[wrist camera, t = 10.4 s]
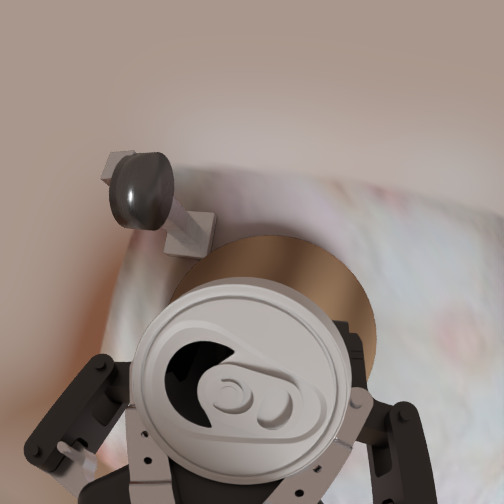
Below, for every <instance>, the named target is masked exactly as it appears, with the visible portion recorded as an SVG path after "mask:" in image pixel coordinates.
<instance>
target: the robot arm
mask: <svg viewBox="0 0 504 504" xmlns="http://www.w3.org/2000/svg"><path fill="white" fill-rule="evenodd" d="M332 322H333V323H334V325H335V326H336V328H337V329H338V331H339V333H340V335H341V337H342V339H343V341H344V343H345V346H346V348H347V352H348V355H349V360H350V365H351V374H352V381H351V393H350V398H349V401H348V405H347V409H346V413H345V416H344V419H343V422H342V425H341V427H340V429H339V431H338V433H337V435H336V436H335V438H334V439H333V441H332V442H331V444H330V445H329V446H328V447H327V449H326V450H325V451H324V452H323V453H322V454H321V455H320V456H319V457H318V458H317V459H315V460H314V461H313V462H312V463H310V464H309V465H308V466H306V467H305V468H303V469H301V470H300V471H298V472H296V473H294V474H292V475H290V476H287V477H285V478H282V479H279V480H275V481H271V482H267V483H261V484H251V485H240V484H229V483H223V482H218V481H214V480H211V479H207V478H204V477H202V476H200V475H197V474H195V473H193V472H191V471H189V470H187V469H186V468H184V467H182V466H181V465H179V464H178V463H176V462H175V461H174V460H172V459H171V458H170V457H169V456H168V455H167V454H165V453H164V452H163V451H162V450H161V449H160V448H159V446H158V445H157V444H156V443H155V442H154V440H153V439H152V438H151V436H150V435H149V434H148V432H147V430H146V429H145V427H144V425H143V423H142V421H141V419H140V417H139V414H138V411H137V409H136V405H135V402H134V397H133V392H132V367H133V361H134V360H133V361H132V362H114V361H113V359H112V358H111V357H110V356H109V355H107V354H98V355H95V356H94V357H92V358H91V359H90V361H89V362H88V363H87V364H86V365H85V366H84V368H83V369H82V370H81V371H80V372H79V374H78V375H77V376H76V377H75V379H74V380H73V381H72V382H71V383H70V385H69V386H68V387H67V389H66V390H65V391H64V392H63V393H62V395H61V396H60V397H59V398H58V400H57V401H56V402H55V404H54V405H53V406H52V407H51V409H50V410H49V411H48V413H47V414H46V415H45V417H44V418H43V419H42V421H41V422H40V423H39V425H38V426H37V427H36V429H35V430H34V431H33V433H32V434H31V436H30V437H29V438H28V440H27V441H26V443H25V445H24V455H25V457H26V459H27V460H28V462H30V463H31V464H33V465H34V466H36V467H38V468H39V469H41V470H42V471H44V472H45V473H47V474H49V475H51V476H52V477H53V478H54V479H55V480H56V481H57V482H58V483H60V484H61V485H62V486H63V487H64V488H65V489H66V490H68V491H69V492H70V493H71V494H72V495H74V496H75V497H76V498H77V499H78V504H324V503H323V502H322V501H321V498H322V497H323V495H324V494H325V492H326V491H327V489H328V488H329V487H330V485H331V484H332V482H333V481H334V479H335V478H336V476H337V475H338V473H339V471H340V470H341V468H342V467H343V465H344V463H345V462H346V460H347V458H348V457H349V455H350V453H351V451H352V446H353V444H354V442H355V441H358V442H362V443H365V444H366V445H367V452H368V459H369V467H370V475H371V484H372V494H373V504H437V497H436V490H435V484H434V478H433V472H432V467H431V462H430V457H429V453H428V448H427V444H426V440H425V436H424V432H423V428H422V424H421V420H420V417H419V413H418V410H417V408H416V407H415V406H414V405H413V404H411V403H409V402H405V401H402V402H398V403H396V404H395V405H394V406H392V405H388V404H385V403H382V402H379V401H377V400H375V399H374V398H373V397H372V396H371V394H370V393H369V392H368V389H367V380H366V369H365V360H364V353H363V343H362V340H361V339H360V337H359V335H358V334H357V333H349V324H348V321H338V320H332ZM201 342H202V341H196V342H192V343H189V344H187V345H185V346H183V347H181V348H180V349H179V350H178V351H177V352H176V353H175V354H174V355H173V356H172V358H171V359H170V361H169V363H168V367H167V370H166V373H169V372H173V373H174V375H175V376H176V378H177V379H178V381H179V382H181V381H183V380H185V379H186V378H187V375H188V373H189V370H190V368H191V366H192V363H193V361H194V358H195V356H196V354H197V351H198V349H199V346H200V344H201ZM166 373H165V374H166ZM129 403H130V405H129ZM128 405H129V406H128ZM125 409H126V410H125ZM124 411H125V419H126V438H127V451H128V462H129V464H128V465H126V466H124V467H122V468H120V469H118V470H116V471H114V472H111V473H109V474H107V475H105V476H103V477H101V478H99V479H96V480H95V478H94V471H95V470H96V469H97V459H96V457H95V454H96V452H97V451H98V449H99V448H100V446H101V445H102V443H103V442H104V440H105V439H106V437H107V436H108V434H109V433H110V431H111V430H112V428H113V427H114V425H115V424H116V422H117V421H118V419H119V418H120V416H121V415H122V413H123V412H124Z"/></svg>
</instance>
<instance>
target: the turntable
mask: <svg viewBox="0 0 504 504" xmlns="http://www.w3.org/2000/svg"><path fill="white" fill-rule="evenodd" d="M231 277H255V278H261V279H267V280H271V281H275V282H278V283H281V284H283V285H286V286H288V287H290V288H292V289H294V290H296V291H298V292H300V293H301V294H303V295H305V296H306V297H308V298H309V299H310V300H312V301H313V302H314V303H315V304H317V305H318V306H319V307H320V308H321V309H322V310H323V311H324V312H325V313H326V314H327V315H328V317H329V318H330V319H331V320H338V321H348V324H349V333H357V334H358V335H359V337H360V339H361V340H362V343H363V353H364V360H365V369H366V380H367V381H368V378H369V375H370V373H371V370H372V367H373V363H374V358H375V353H376V341H377V338H376V324H375V319H374V314H373V310H372V308H371V305H370V302H369V299H368V297H367V295H366V293H365V291H364V289H363V287H362V286H361V284H360V283H359V281H358V280H357V278H356V277H355V276H354V274H353V273H352V272H351V271H350V270H349V269H348V268H347V267H346V266H345V265H344V264H343V263H342V262H341V261H340V260H338V259H337V258H336V257H335V256H334V255H332V254H330V253H329V252H327V251H326V250H324V249H322V248H320V247H318V246H316V245H314V244H312V243H309V242H306V241H303V240H300V239H297V238H292V237H286V236H274V235H264V236H253V237H249V238H244V239H240V240H237V241H234V242H231V243H228V244H226V245H224V246H222V247H220V248H218V249H216V250H214V251H213V252H211V253H210V254H208V255H207V256H205V257H204V258H203V259H201V260H200V261H199V262H198V263H197V264H196V265H195V266H194V267H193V268H192V269H191V270H190V271H189V272H188V273H187V274H186V276H185V277H184V278H183V279H182V281H181V282H180V284H179V285H178V287H177V288H176V290H175V292H174V294H173V296H172V298H171V300H170V303H169V304H171V303H172V302H173V301H175V300H177V299H178V298H179V297H180V296H182V295H183V294H185V293H186V292H188V291H190V290H192V289H193V288H195V287H197V286H200V285H202V284H205V283H208V282H211V281H214V280H218V279H224V278H231Z"/></svg>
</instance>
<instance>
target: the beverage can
mask: <svg viewBox="0 0 504 504" xmlns="http://www.w3.org/2000/svg"><path fill="white" fill-rule="evenodd" d="M196 341H202V342H201V344H200V346H199V349H198V351H197V354H196V356H195V358H194V361H193V363H192V366H191V368H190V370H189V373H188V375H187V378H186V379H185V380H183V381H181V382H179V381H178V379H177V378H176V376H175V375H174V373H173V372H169V373H166V370H167V367H168V363H169V361H170V359H171V358H172V356H173V355H174V354H175V353H176V352H177V351H178V350H179V349H180V348H181V347H183V346H185V345H187V344H189V343H192V342H196ZM165 373H166V374H165ZM351 381H352V374H351V365H350V360H349V355H348V352H347V348H346V346H345V343H344V341H343V339H342V337H341V335H340V333H339V331H338V329H337V328H336V326H335V325H334V323H333V322H332V320H331V319H330V318H329V317H328V315H327V314H326V313H325V312H324V311H323V310H322V309H321V308H320V307H319V306H318V305H317V304H315V303H314V302H313V301H312V300H310V299H309V298H308V297H306V296H305V295H303V294H301V293H300V292H298V291H296V290H294V289H292V288H290V287H288V286H286V285H283V284H281V283H278V282H275V281H271V280H267V279H261V278H255V277H231V278H224V279H218V280H214V281H211V282H208V283H205V284H202V285H200V286H197V287H195V288H193V289H192V290H190V291H188V292H186V293H185V294H183V295H182V296H180V297H179V298H178V299H177V300H175V301H173V302H172V303H171V304H169V305H168V306H167V307H166V308H165V309H164V310H163V311H162V312H161V313H160V314H159V315H158V316H157V317H156V318H155V319H154V320H153V321H152V322H151V323H150V324H149V326H148V327H147V329H146V330H145V332H144V334H143V336H142V338H141V339H140V342H139V344H138V347H137V350H136V352H135V356H134V361H133V367H132V392H133V397H134V402H135V405H136V409H137V411H138V414H139V417H140V419H141V421H142V423H143V425H144V427H145V429H146V430H147V432H148V434H149V435H150V436H151V438H152V439H153V440H154V442H155V443H156V444H157V445H158V446H159V448H160V449H161V450H162V451H163V452H164V453H165V454H167V455H168V456H169V457H170V458H171V459H172V460H174V461H175V462H176V463H178V464H179V465H181V466H182V467H184V468H186V469H187V470H189V471H191V472H193V473H195V474H197V475H200V476H202V477H204V478H207V479H211V480H214V481H218V482H223V483H229V484H240V485H251V484H261V483H267V482H271V481H275V480H279V479H282V478H285V477H287V476H290V475H292V474H294V473H296V472H298V471H300V470H301V469H303V468H305V467H306V466H308V465H309V464H310V463H312V462H313V461H314V460H315V459H317V458H318V457H319V456H320V455H321V454H322V453H323V452H324V451H325V450H326V449H327V447H328V446H329V445H330V444H331V442H332V441H333V439H334V438H335V436H336V435H337V433H338V431H339V429H340V427H341V425H342V422H343V419H344V416H345V413H346V409H347V405H348V401H349V398H350V393H351Z"/></svg>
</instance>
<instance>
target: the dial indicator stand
mask: <svg viewBox="0 0 504 504" xmlns="http://www.w3.org/2000/svg"><path fill="white" fill-rule="evenodd" d="M101 180H103V181H104V182H105V183H106V184H107V185H108V186H110V188H109V201H110V207H111V210H112V214H113V216H114V218H115V220H116V221H117V222H118V223H119V225H121V226H122V227H124V228H130V229H141V230H158V229H159V228H162V229H163V230H165V231H166V232H167V237H166V241H165V246H164V251H163V253H165V254H166V255H169V256H177V257H185V258H193V259H203V258H204V257H205V256H207V255H208V254H210V253H211V247H212V242H213V236H214V231H215V225H216V220H217V216H216V214H215V213H211V212H197V211H186V210H185V209H184V208H183V206H182V205H181V204H180V203H179V202H178V201H177V200H176V199H175V197H174V196H173V195H174V178H173V171H172V168H171V165H170V162H169V160H168V159H167V158H166V156H165V155H163V154H162V153H159V152H156V153H155V152H154V153H136V152H135V151H134V150H133V151H121V152H112V153H110V155H109V158H108V160H107V163H106V165H105V168H104V171H103V173H102V176H101Z"/></svg>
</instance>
